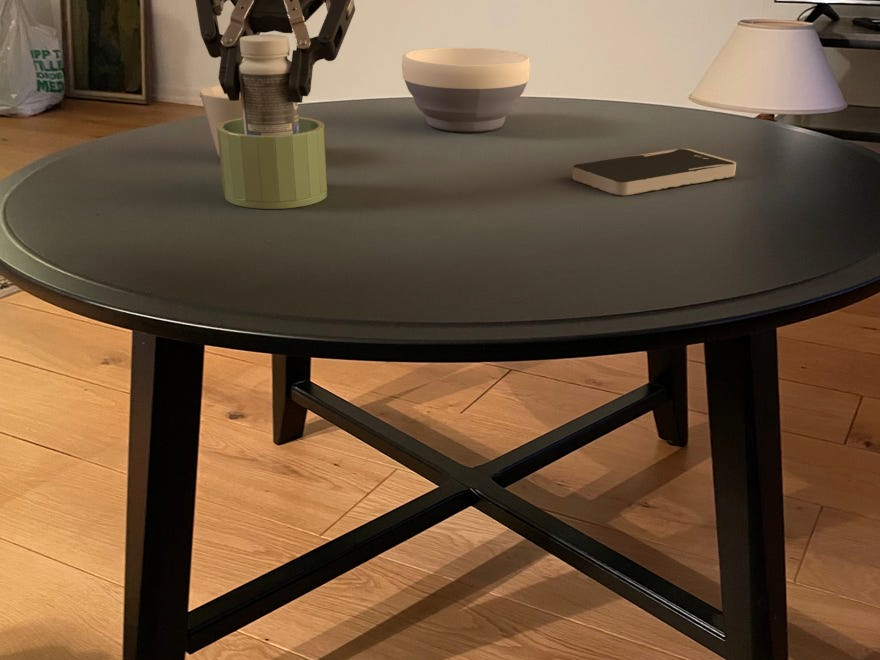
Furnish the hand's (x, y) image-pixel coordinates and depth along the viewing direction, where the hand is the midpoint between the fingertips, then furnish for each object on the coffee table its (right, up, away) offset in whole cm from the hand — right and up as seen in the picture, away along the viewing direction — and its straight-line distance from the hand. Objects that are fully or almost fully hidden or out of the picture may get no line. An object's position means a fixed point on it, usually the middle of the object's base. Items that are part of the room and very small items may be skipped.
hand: (263, 95), depth 85 cm
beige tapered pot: (-5, 0, +19) cm, 19 cm away
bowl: (+16, +9, +34) cm, 39 cm away
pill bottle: (0, -3, +4) cm, 5 cm away
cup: (0, -7, +6) cm, 9 cm away
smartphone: (+35, -3, +14) cm, 38 cm away
